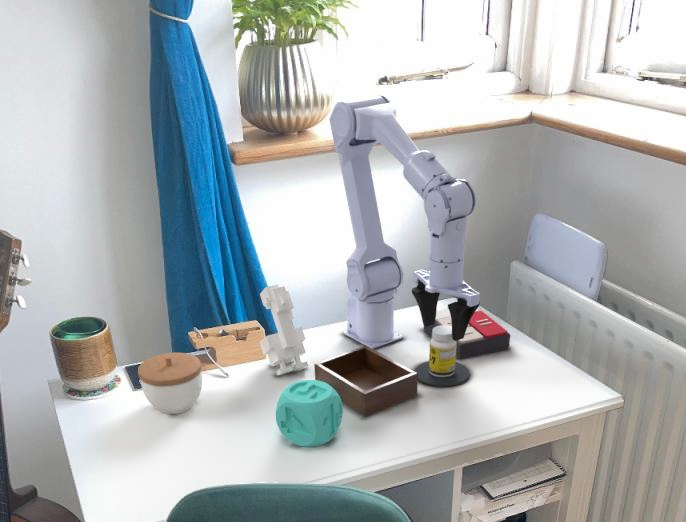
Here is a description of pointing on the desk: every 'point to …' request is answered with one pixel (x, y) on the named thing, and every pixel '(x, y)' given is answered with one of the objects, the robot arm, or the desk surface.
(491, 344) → the calculator
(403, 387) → the box
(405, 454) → the desk surface
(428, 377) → the coaster
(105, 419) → the desk surface
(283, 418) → the decorative dice
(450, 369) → the supplement bottle
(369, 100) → the robot arm
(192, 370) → the trinket box
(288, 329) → the voxel character
